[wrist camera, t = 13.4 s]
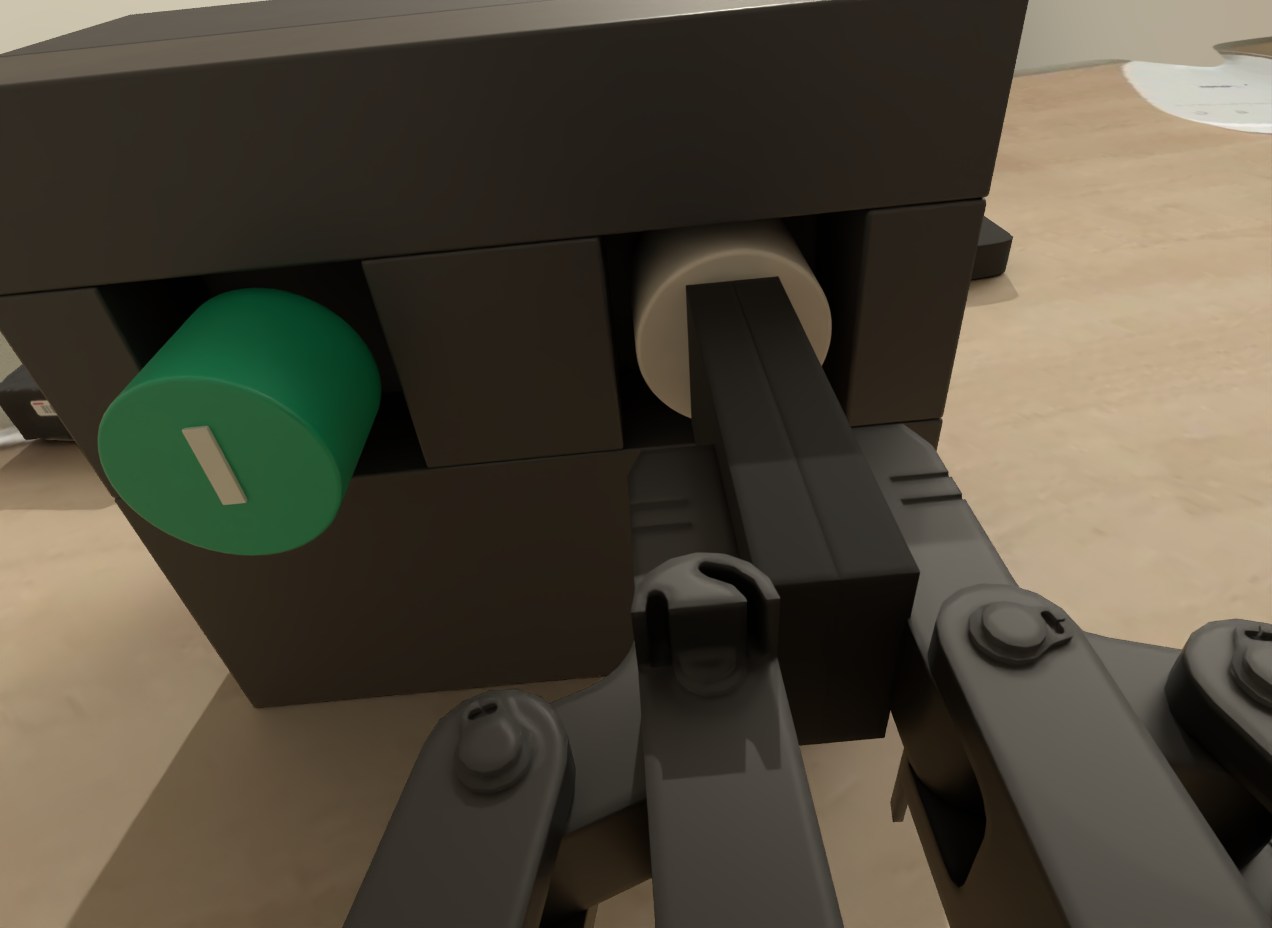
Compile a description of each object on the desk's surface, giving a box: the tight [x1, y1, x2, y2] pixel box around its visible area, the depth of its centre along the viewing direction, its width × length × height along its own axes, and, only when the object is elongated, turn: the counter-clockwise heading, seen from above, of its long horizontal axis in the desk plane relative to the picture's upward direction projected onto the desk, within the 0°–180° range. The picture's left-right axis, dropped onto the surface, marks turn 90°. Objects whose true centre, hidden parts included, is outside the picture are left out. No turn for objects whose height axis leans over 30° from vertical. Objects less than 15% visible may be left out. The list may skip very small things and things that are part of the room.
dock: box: [0, 0, 1028, 708], centre depth 18 cm, size 8×16×14 cm, turn 93°
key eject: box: [629, 218, 832, 418], centre depth 14 cm, size 3×3×3 cm
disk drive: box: [0, 365, 74, 441], centre depth 34 cm, size 10×3×15 cm
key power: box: [98, 288, 382, 556], centre depth 12 cm, size 3×3×3 cm
